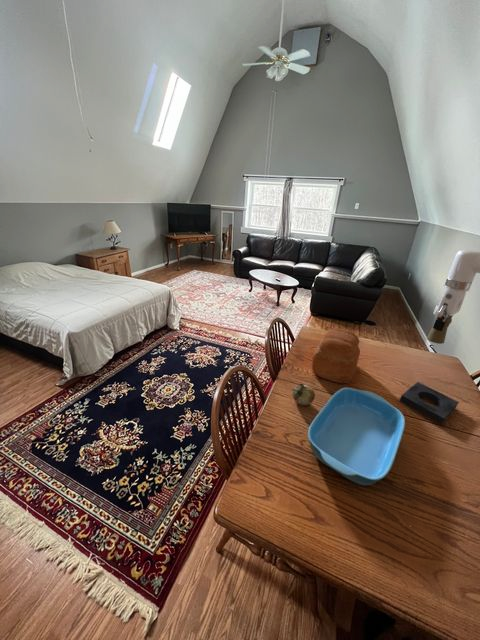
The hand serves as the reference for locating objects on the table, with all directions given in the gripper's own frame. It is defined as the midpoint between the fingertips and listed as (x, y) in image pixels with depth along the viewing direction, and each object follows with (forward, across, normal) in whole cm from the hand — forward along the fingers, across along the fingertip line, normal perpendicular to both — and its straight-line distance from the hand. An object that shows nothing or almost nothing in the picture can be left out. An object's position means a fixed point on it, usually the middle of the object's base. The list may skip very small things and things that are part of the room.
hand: (440, 327), depth 107 cm
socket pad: (+23, -19, -10) cm, 31 cm away
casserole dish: (+23, -57, -4) cm, 62 cm away
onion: (+23, -58, +18) cm, 64 cm away
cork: (+6, 0, 0) cm, 6 cm away
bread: (+23, -30, +24) cm, 45 cm away
